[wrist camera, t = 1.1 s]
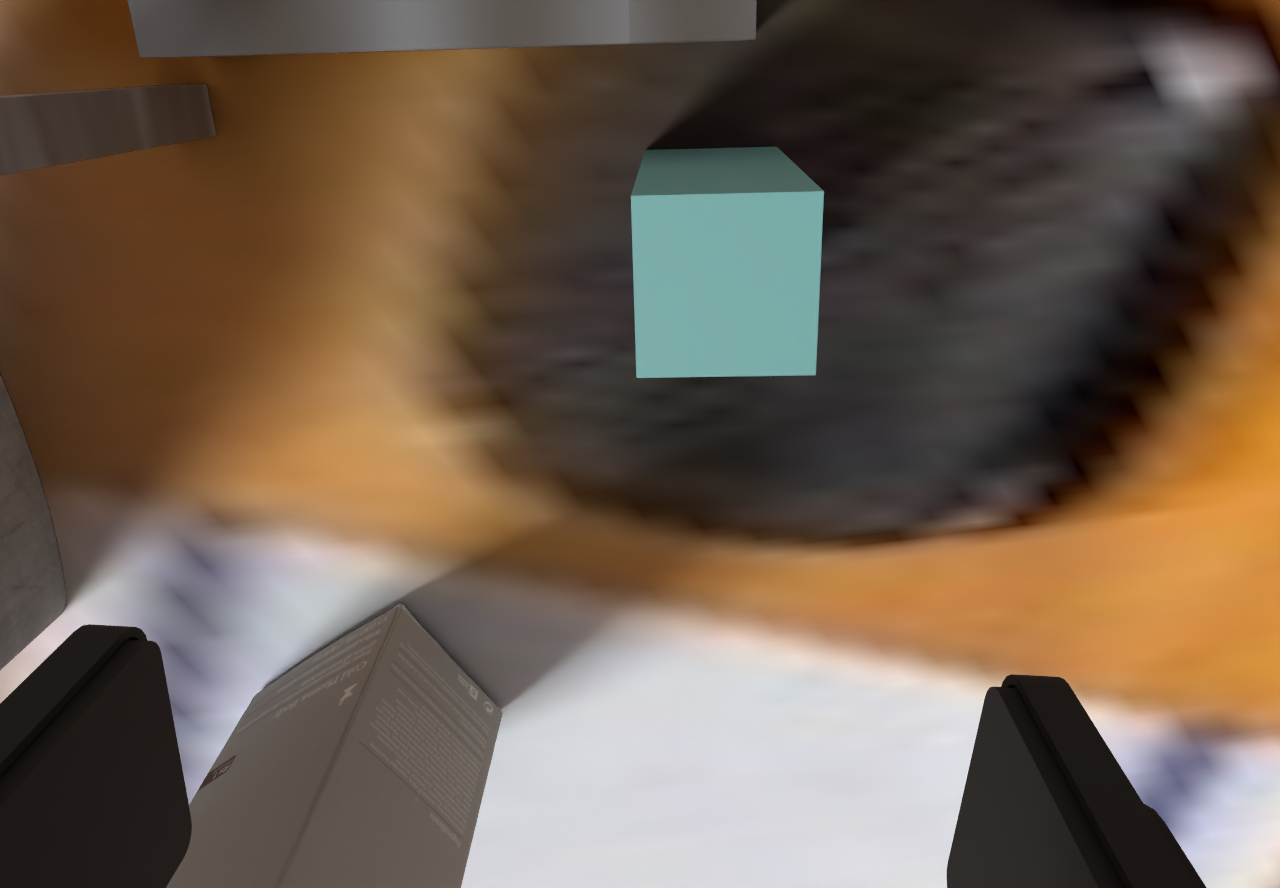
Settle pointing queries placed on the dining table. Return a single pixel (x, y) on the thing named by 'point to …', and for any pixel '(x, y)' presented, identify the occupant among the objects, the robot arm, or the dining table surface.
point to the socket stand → (316, 24)
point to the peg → (725, 264)
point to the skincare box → (349, 771)
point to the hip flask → (24, 543)
